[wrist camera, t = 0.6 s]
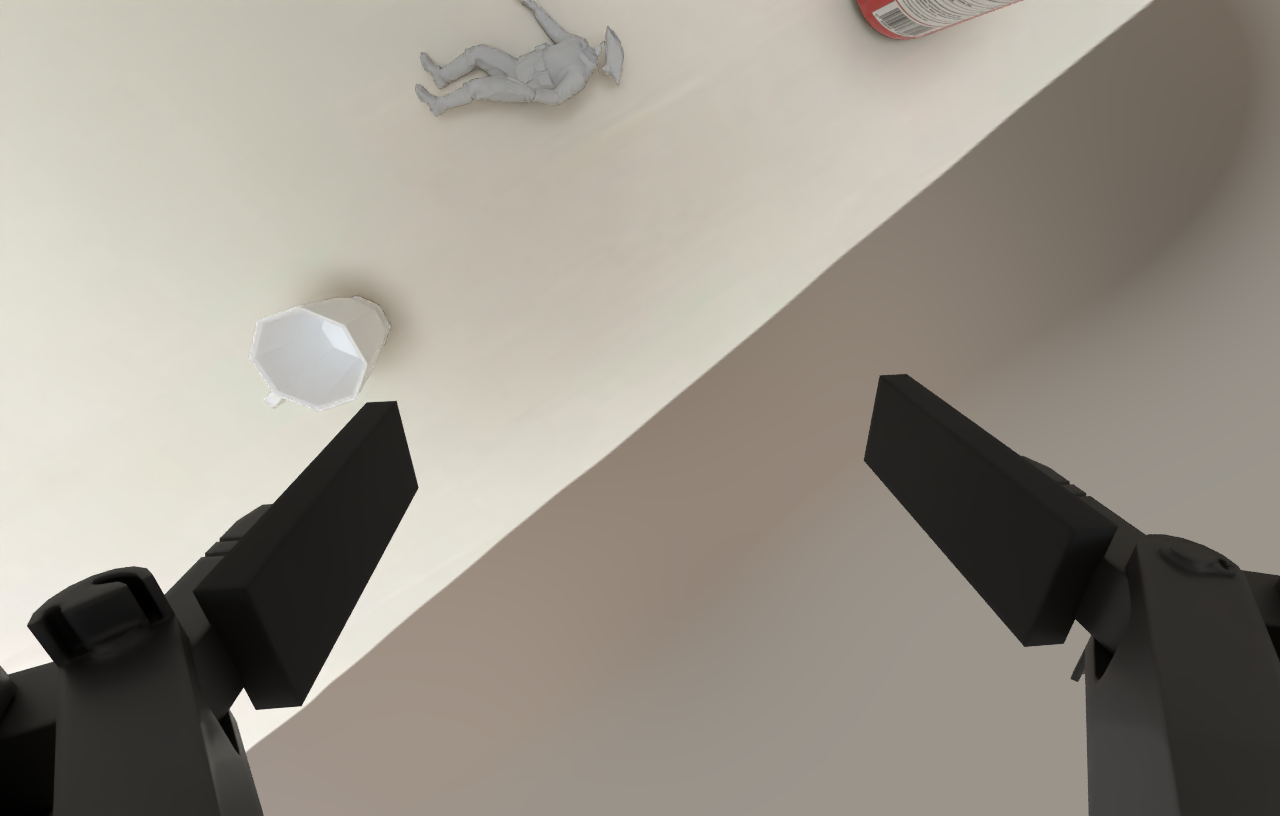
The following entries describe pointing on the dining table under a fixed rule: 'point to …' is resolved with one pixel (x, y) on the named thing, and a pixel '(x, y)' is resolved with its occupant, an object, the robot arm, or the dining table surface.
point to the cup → (319, 351)
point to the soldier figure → (524, 69)
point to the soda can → (923, 15)
